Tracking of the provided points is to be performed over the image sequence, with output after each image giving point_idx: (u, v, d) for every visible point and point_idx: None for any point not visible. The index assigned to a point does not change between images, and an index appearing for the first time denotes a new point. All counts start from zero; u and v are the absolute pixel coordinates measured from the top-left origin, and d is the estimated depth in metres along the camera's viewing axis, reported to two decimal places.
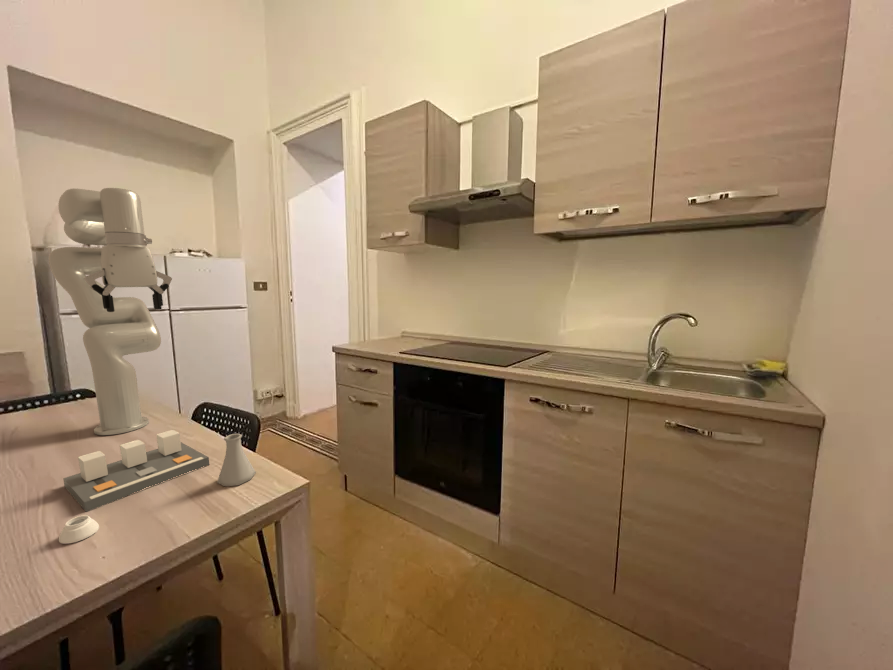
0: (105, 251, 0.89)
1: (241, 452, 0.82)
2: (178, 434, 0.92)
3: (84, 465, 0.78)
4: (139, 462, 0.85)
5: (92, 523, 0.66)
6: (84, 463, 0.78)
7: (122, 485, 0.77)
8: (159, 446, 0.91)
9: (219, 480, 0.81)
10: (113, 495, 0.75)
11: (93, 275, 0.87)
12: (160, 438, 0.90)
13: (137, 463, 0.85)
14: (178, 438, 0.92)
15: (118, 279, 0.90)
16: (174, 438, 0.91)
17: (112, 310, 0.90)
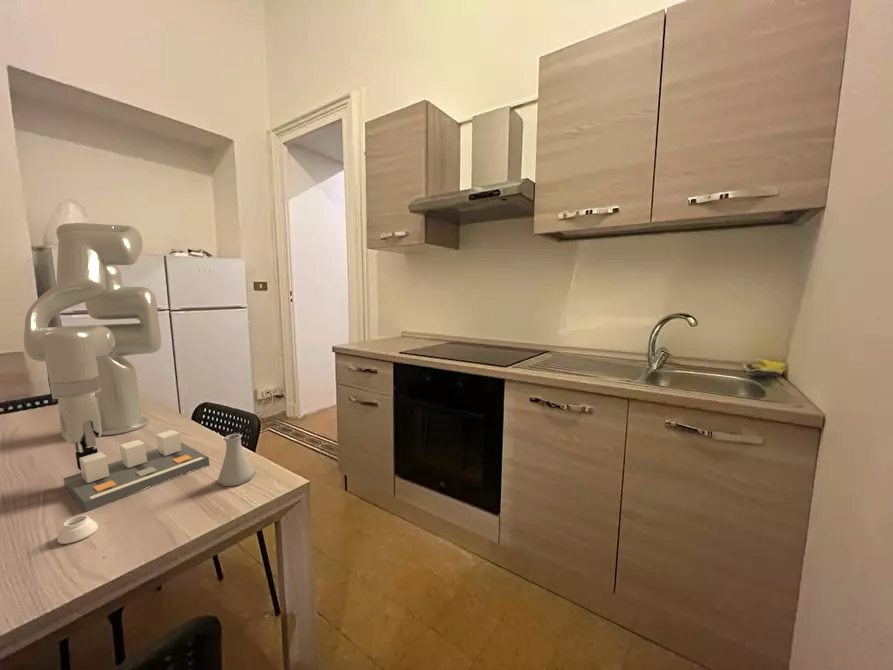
0: (90, 401, 0.78)
1: (241, 453, 0.82)
2: (178, 434, 0.92)
3: (85, 466, 0.77)
4: (139, 462, 0.85)
5: (91, 523, 0.65)
6: (85, 464, 0.77)
7: (122, 485, 0.77)
8: (159, 446, 0.91)
9: (219, 480, 0.81)
10: (113, 495, 0.75)
11: (93, 438, 0.79)
12: (160, 438, 0.90)
13: (137, 463, 0.85)
14: (178, 438, 0.92)
15: None
16: (174, 438, 0.91)
17: None
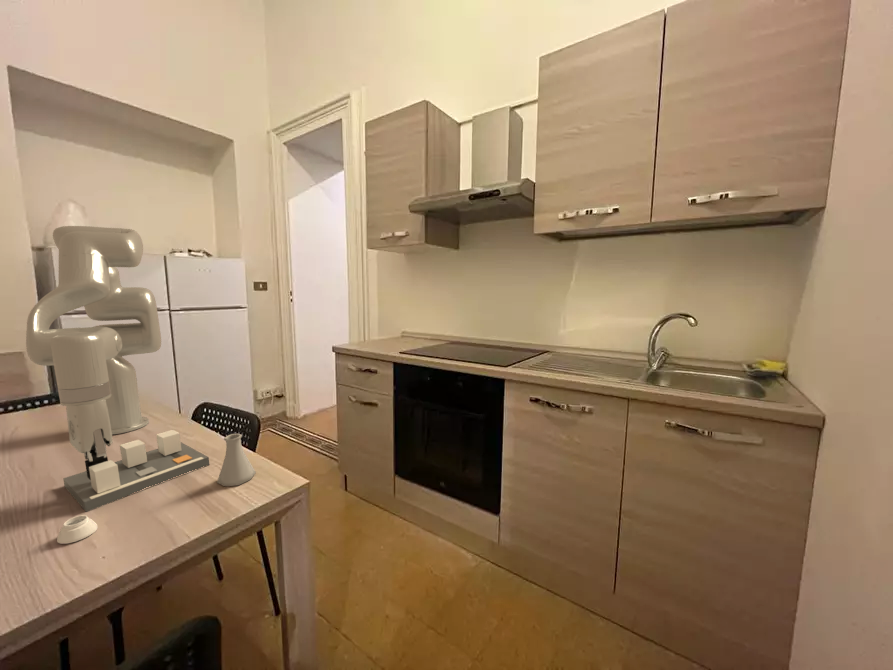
0: (100, 408, 0.74)
1: (241, 452, 0.82)
2: (178, 434, 0.92)
3: (95, 476, 0.73)
4: (139, 462, 0.85)
5: (90, 523, 0.65)
6: (95, 474, 0.73)
7: (122, 485, 0.77)
8: (159, 446, 0.91)
9: (219, 480, 0.81)
10: (113, 495, 0.75)
11: None
12: (160, 438, 0.90)
13: (137, 463, 0.85)
14: (178, 438, 0.92)
15: None
16: (174, 438, 0.91)
17: None
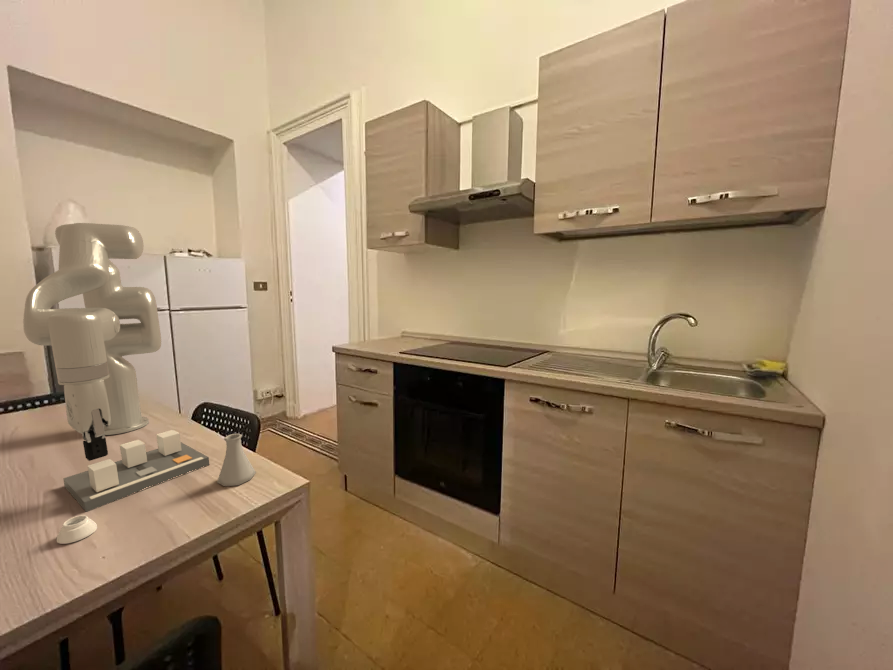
0: (98, 388, 0.74)
1: (241, 452, 0.82)
2: (178, 434, 0.92)
3: (94, 475, 0.74)
4: (139, 462, 0.85)
5: (90, 523, 0.65)
6: (94, 472, 0.74)
7: (122, 485, 0.77)
8: (159, 446, 0.91)
9: (219, 480, 0.81)
10: (113, 495, 0.75)
11: (102, 426, 0.75)
12: (160, 438, 0.90)
13: (137, 463, 0.85)
14: (178, 438, 0.92)
15: None
16: (174, 438, 0.91)
17: None
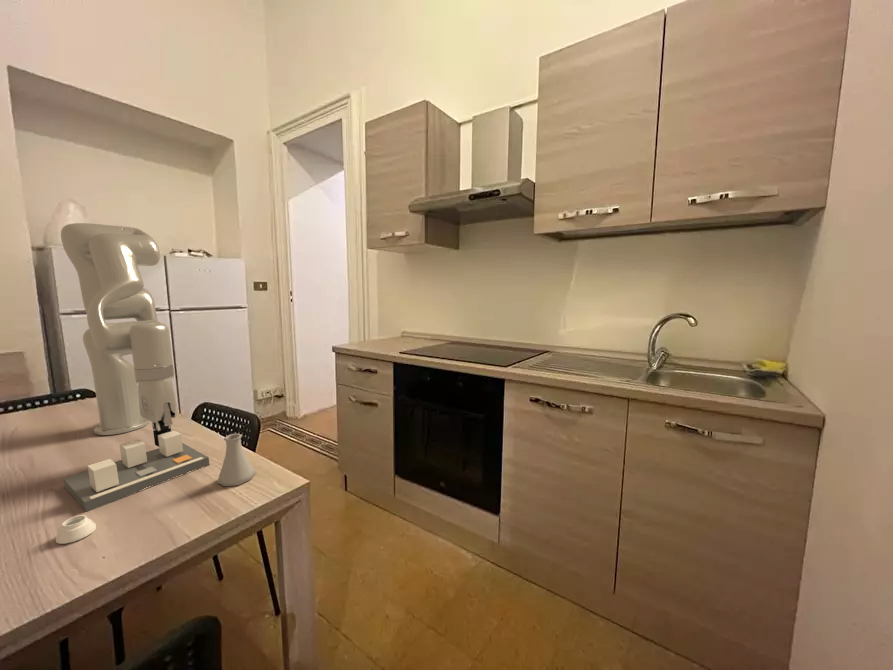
0: (168, 385, 0.90)
1: (241, 452, 0.82)
2: (180, 435, 0.91)
3: (94, 475, 0.74)
4: (139, 462, 0.85)
5: (89, 523, 0.65)
6: (94, 472, 0.74)
7: (122, 485, 0.77)
8: (161, 447, 0.90)
9: (219, 480, 0.81)
10: (113, 495, 0.75)
11: None
12: (162, 439, 0.89)
13: (137, 463, 0.85)
14: (180, 439, 0.91)
15: None
16: (176, 439, 0.91)
17: None
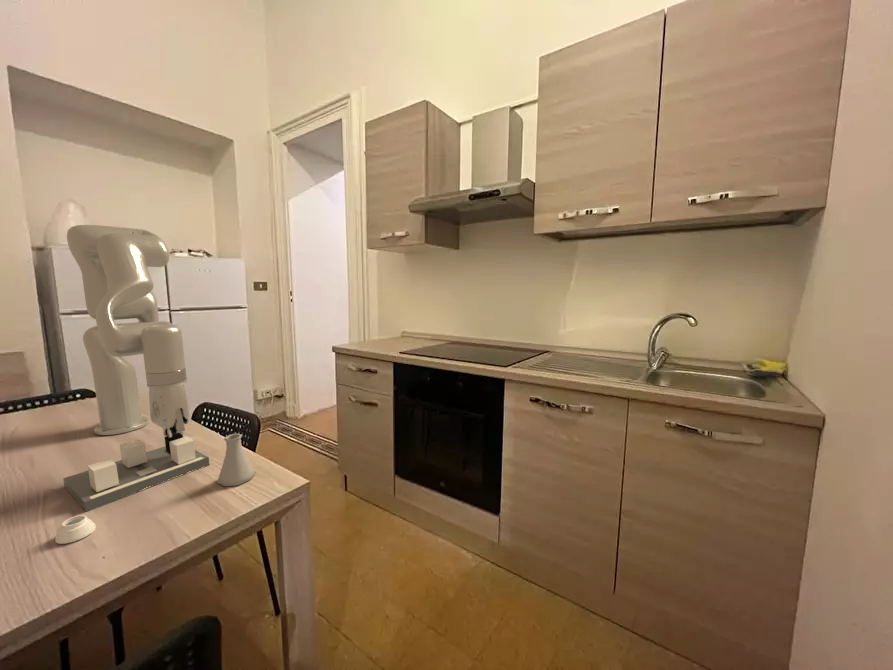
0: (180, 390, 0.86)
1: (241, 453, 0.82)
2: (192, 441, 0.87)
3: (94, 475, 0.74)
4: (139, 462, 0.85)
5: (89, 523, 0.65)
6: (94, 472, 0.74)
7: (122, 485, 0.77)
8: (172, 454, 0.87)
9: (219, 480, 0.81)
10: (113, 495, 0.75)
11: None
12: (173, 446, 0.86)
13: (137, 463, 0.85)
14: (192, 446, 0.87)
15: None
16: (188, 446, 0.87)
17: None
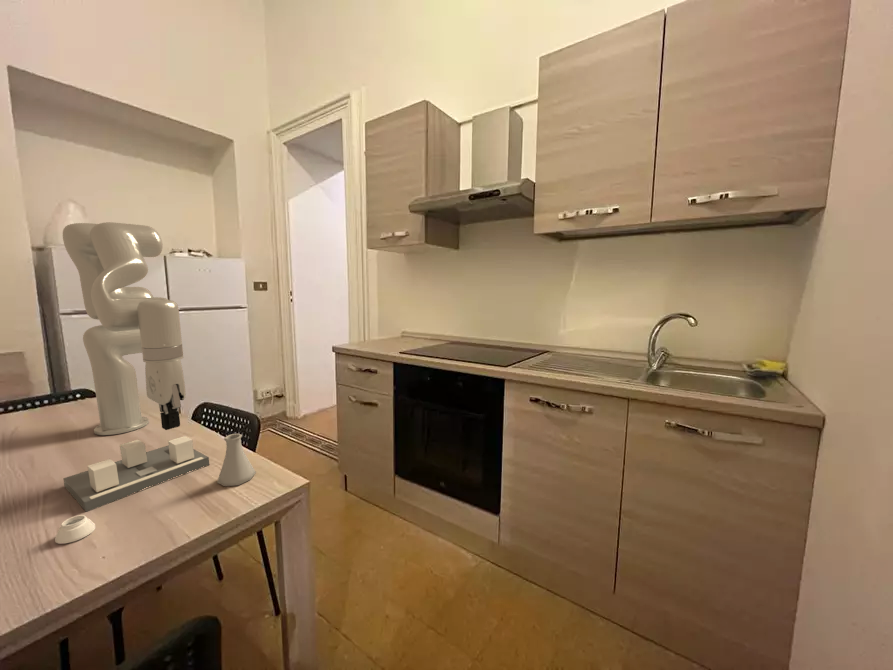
0: (177, 366, 0.85)
1: (241, 452, 0.82)
2: (191, 441, 0.88)
3: (94, 475, 0.74)
4: (139, 462, 0.85)
5: (88, 523, 0.65)
6: (94, 472, 0.74)
7: (122, 485, 0.77)
8: (171, 453, 0.87)
9: (219, 480, 0.81)
10: (113, 495, 0.75)
11: None
12: (172, 445, 0.86)
13: (137, 463, 0.85)
14: (191, 445, 0.88)
15: None
16: (187, 445, 0.87)
17: None
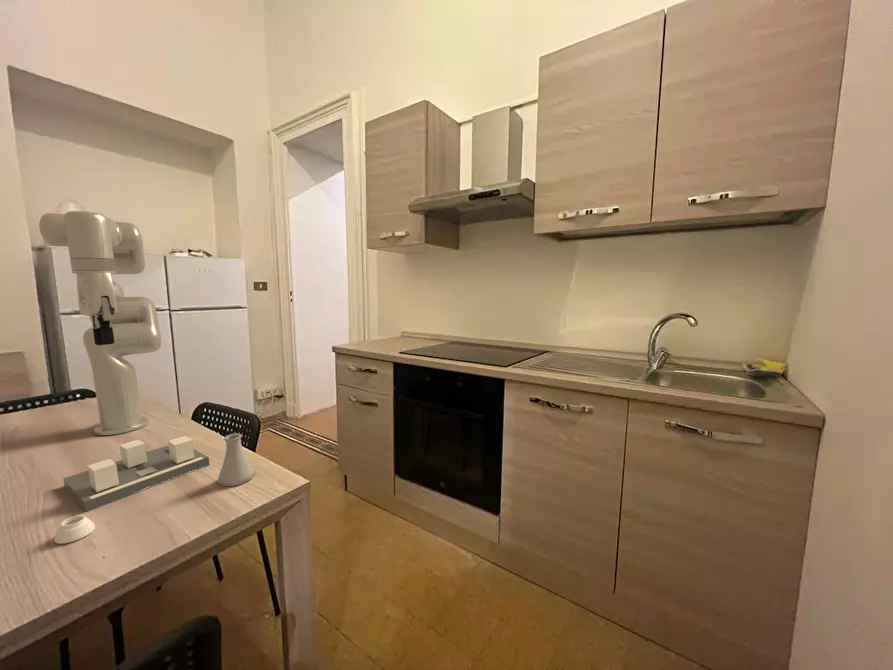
0: (106, 278, 0.86)
1: (241, 452, 0.82)
2: (191, 441, 0.88)
3: (94, 475, 0.74)
4: (139, 462, 0.85)
5: (88, 523, 0.66)
6: (94, 472, 0.74)
7: (122, 485, 0.77)
8: (171, 453, 0.87)
9: (219, 480, 0.81)
10: (113, 495, 0.75)
11: None
12: (172, 445, 0.86)
13: (137, 463, 0.85)
14: (191, 445, 0.88)
15: None
16: (187, 445, 0.87)
17: None
